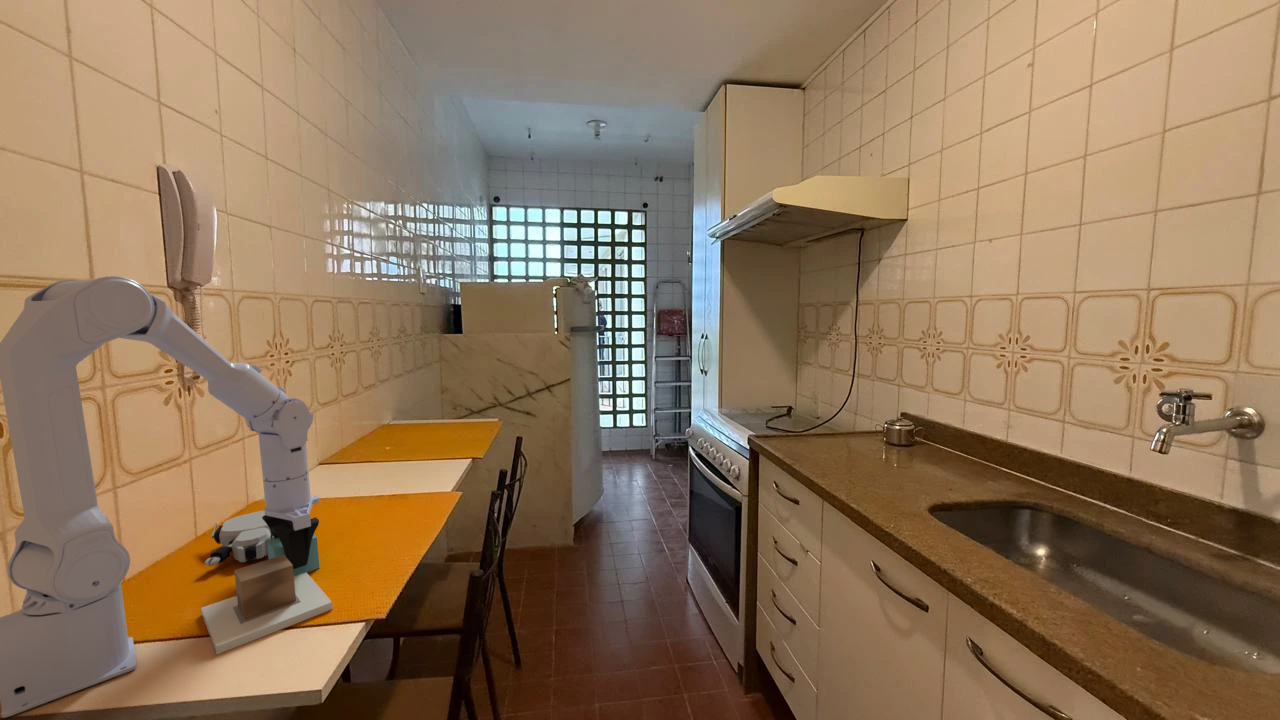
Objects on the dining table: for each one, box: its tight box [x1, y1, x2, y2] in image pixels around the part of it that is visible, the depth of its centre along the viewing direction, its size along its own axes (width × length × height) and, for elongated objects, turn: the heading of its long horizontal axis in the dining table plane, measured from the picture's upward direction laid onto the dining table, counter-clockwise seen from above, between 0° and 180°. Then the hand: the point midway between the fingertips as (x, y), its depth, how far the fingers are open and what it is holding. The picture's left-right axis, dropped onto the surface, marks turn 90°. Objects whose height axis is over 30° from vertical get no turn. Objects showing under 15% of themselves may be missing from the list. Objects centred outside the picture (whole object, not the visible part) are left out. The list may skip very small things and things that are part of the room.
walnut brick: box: [233, 555, 296, 619], centre depth 67 cm, size 6×4×5 cm
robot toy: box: [204, 510, 274, 566], centre depth 87 cm, size 12×4×15 cm
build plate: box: [200, 572, 333, 655], centre depth 68 cm, size 12×12×1 cm
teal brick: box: [267, 534, 320, 576], centre depth 79 cm, size 6×4×5 cm
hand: (294, 561), depth 79 cm, fingers closed on teal brick, 4 cm apart
